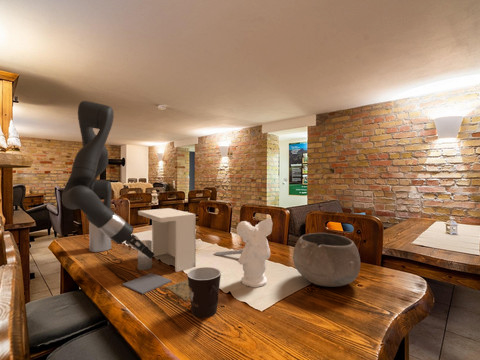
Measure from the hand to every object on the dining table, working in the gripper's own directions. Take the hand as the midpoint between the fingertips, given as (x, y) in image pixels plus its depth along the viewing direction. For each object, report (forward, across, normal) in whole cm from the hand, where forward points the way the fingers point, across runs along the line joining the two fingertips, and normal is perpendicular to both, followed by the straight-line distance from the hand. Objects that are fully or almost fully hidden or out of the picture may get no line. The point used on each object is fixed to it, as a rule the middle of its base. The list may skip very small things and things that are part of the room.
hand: (149, 254), depth 96 cm
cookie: (+6, -27, +2) cm, 28 cm away
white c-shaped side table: (+8, 0, -1) cm, 8 cm away
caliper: (+27, -13, -19) cm, 35 cm away
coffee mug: (+2, -43, +5) cm, 43 cm away
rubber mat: (-1, -15, +8) cm, 17 cm away
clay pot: (+31, -53, -24) cm, 66 cm away
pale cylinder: (+2, 0, +5) cm, 5 cm away
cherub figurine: (+20, -36, -13) cm, 43 cm away
